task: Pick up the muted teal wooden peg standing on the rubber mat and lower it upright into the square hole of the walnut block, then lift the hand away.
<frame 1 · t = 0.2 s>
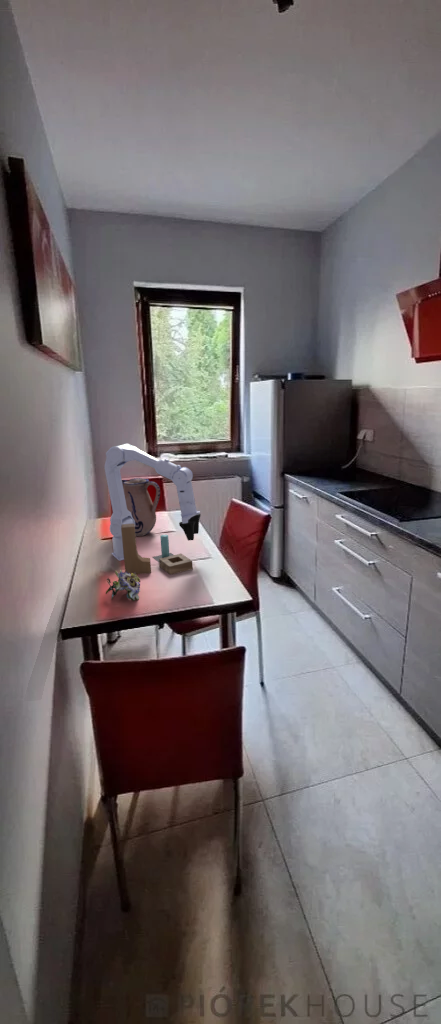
hand: (193, 536, 157), 10 cm above the table, tool pointing down, fingers open, 7 cm apart
hole block: (176, 568, 155), on the table
passion flower: (124, 599, 133), on the table
peg: (165, 557, 165), resting on mat
wooden block: (138, 573, 153), on the table
mat: (165, 558, 165), on the table
ceramic pitcher: (141, 534, 196), on the table
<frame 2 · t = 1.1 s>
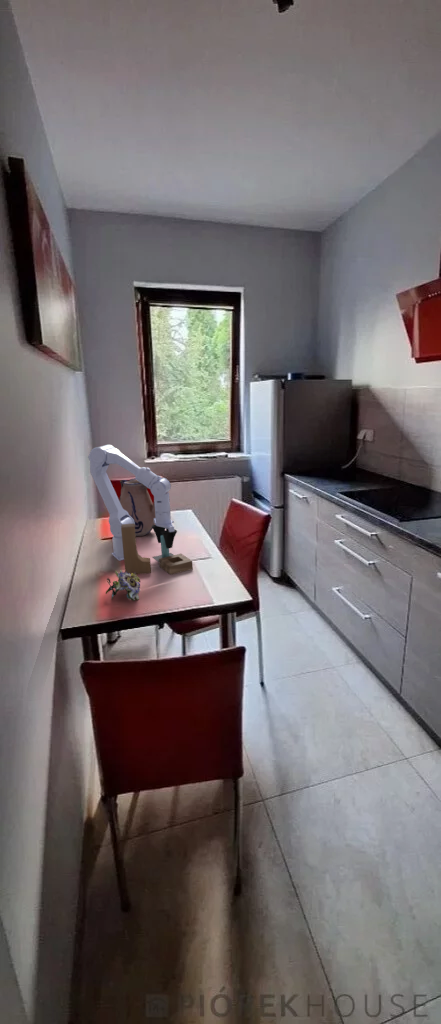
hand: (165, 545, 163), 6 cm above the table, tool pointing down, fingers open, 7 cm apart
nothing on the table moved.
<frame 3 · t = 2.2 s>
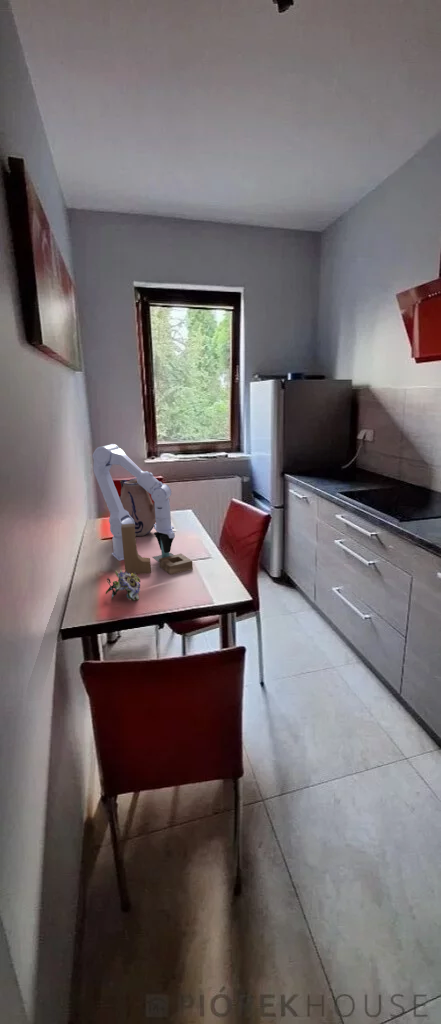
hand: (165, 550, 164), 3 cm above the table, tool pointing down, fingers closed on peg, 3 cm apart
peg: (165, 557, 165), resting on mat, touching gripper
everything else where it was.
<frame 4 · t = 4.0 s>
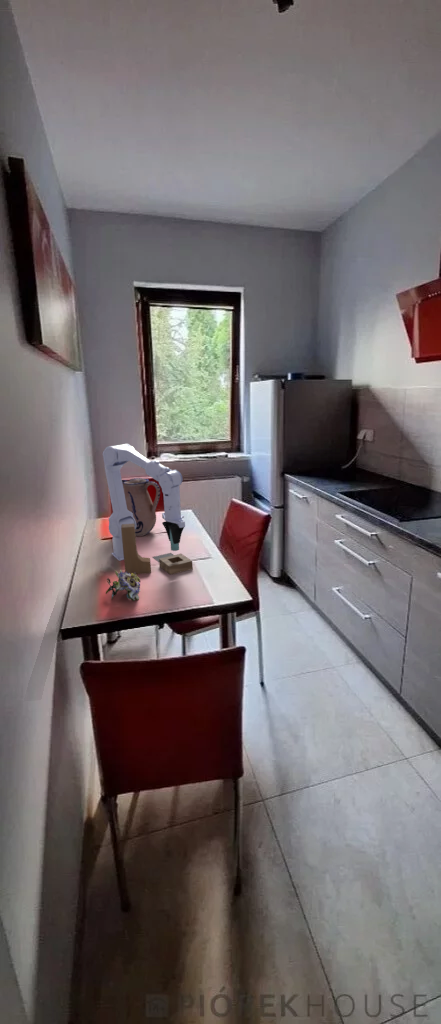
hand: (174, 541, 152), 10 cm above the table, tool pointing down, fingers closed on peg, 3 cm apart
peg: (175, 549, 153), point 8 cm above the table, touching gripper
everything else where it was.
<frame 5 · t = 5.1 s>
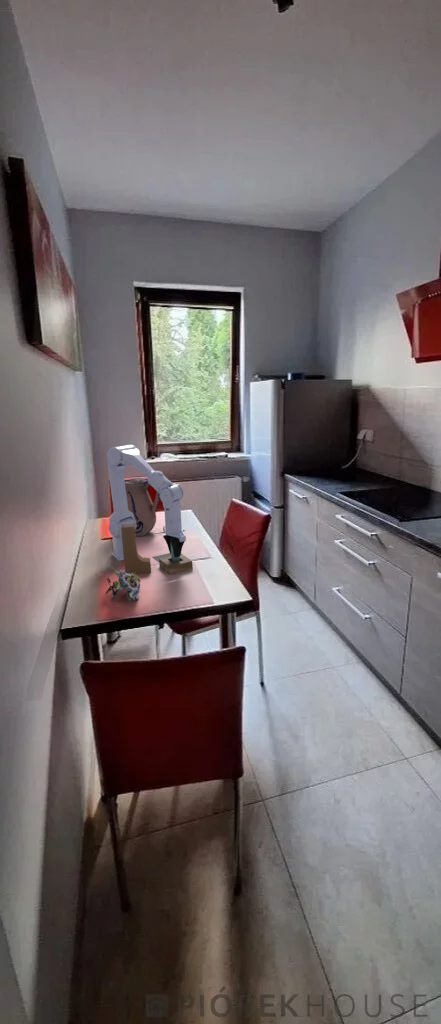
hand: (175, 555, 154), 5 cm above the table, tool pointing down, fingers closed on peg, 3 cm apart
peg: (175, 562, 155), point 2 cm above the table, touching gripper
everything else where it was.
when the fingers open (4 cm above the table, at t = 6.1 s): peg drops 2 cm, resting in hole block.
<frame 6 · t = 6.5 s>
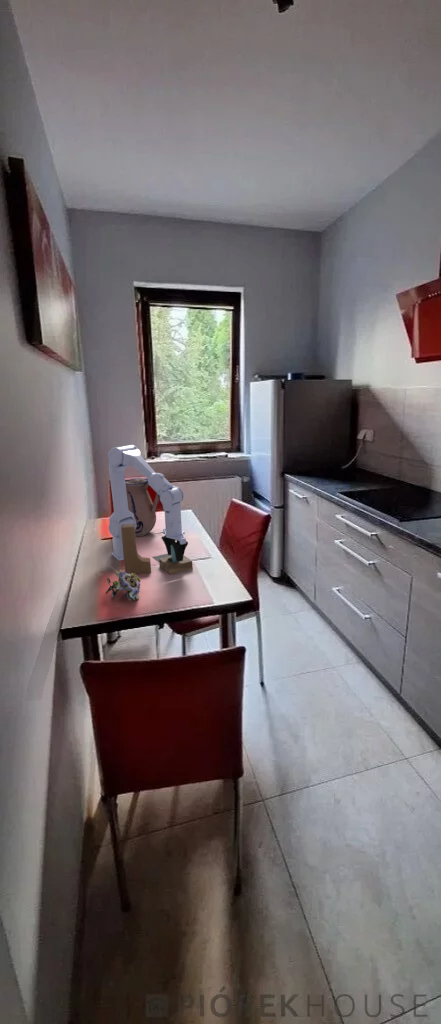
hand: (175, 557, 154), 4 cm above the table, tool pointing down, fingers open, 6 cm apart
peg: (176, 568, 155), resting in hole block
everything else where it was.
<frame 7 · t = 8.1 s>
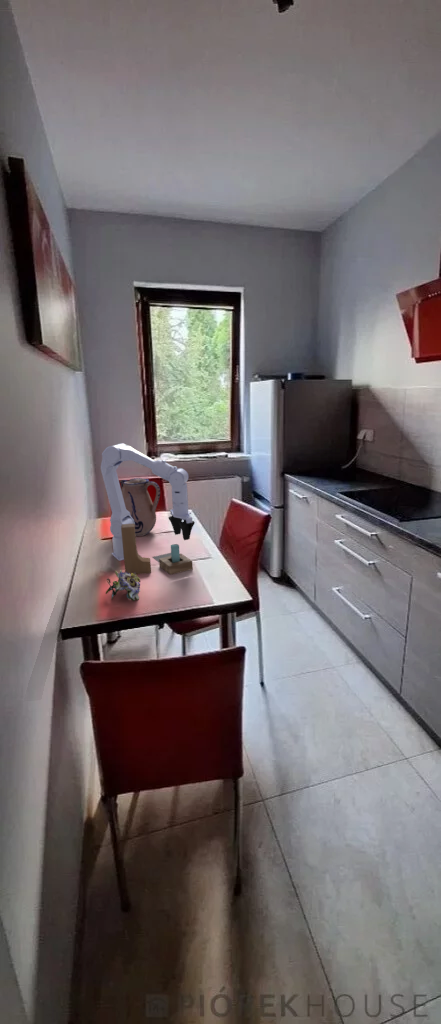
hand: (182, 536, 161), 9 cm above the table, tool pointing down, fingers open, 7 cm apart
nothing on the table moved.
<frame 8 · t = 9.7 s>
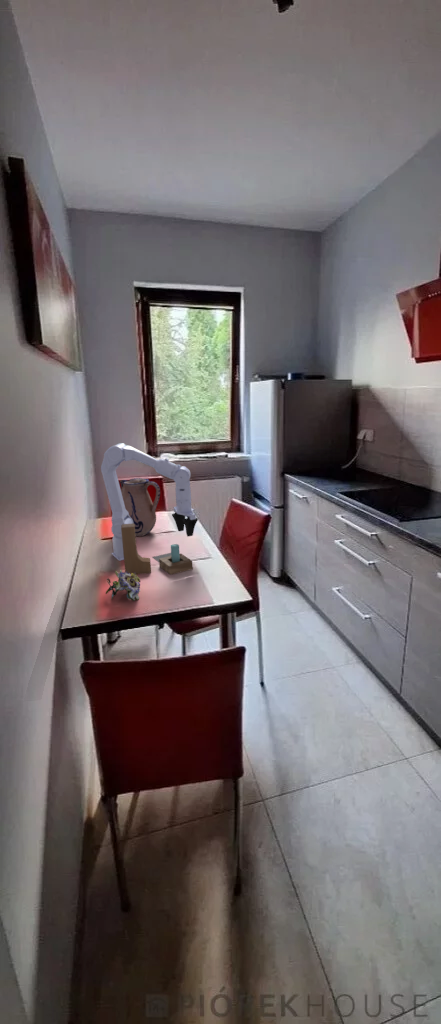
hand: (185, 533, 165), 9 cm above the table, tool pointing down, fingers open, 7 cm apart
nothing on the table moved.
at the end: peg 0.1 cm off-centre on the hole block, point 0.0 cm above the hole block's base; peg tilted 0°; the gripper is holding nothing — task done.
